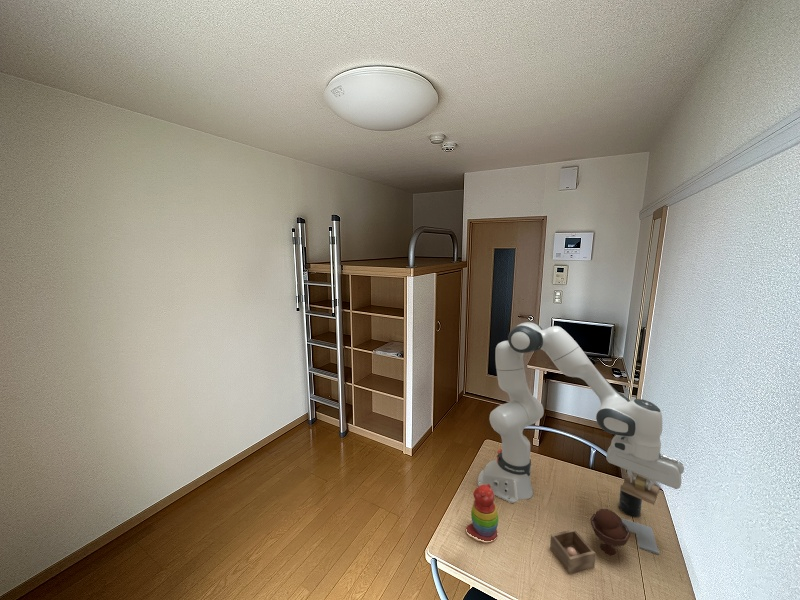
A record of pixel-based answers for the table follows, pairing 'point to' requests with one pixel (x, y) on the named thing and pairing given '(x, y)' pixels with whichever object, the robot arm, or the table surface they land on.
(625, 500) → the supplement bottle
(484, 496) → the stacking bear
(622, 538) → the ice cream bowl
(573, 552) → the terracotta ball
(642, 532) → the felt pad
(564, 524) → the table surface
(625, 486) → the lid
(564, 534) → the walnut box
